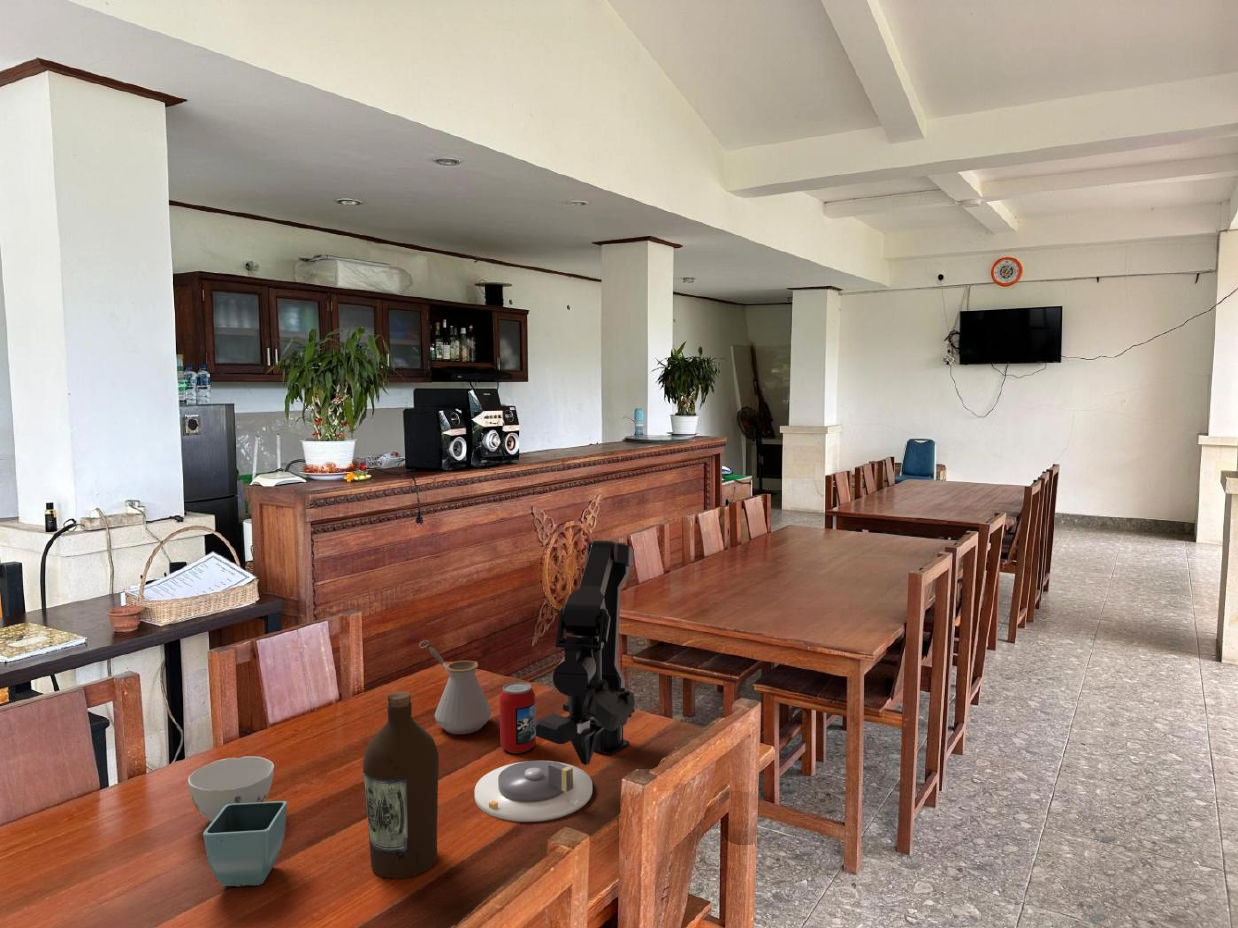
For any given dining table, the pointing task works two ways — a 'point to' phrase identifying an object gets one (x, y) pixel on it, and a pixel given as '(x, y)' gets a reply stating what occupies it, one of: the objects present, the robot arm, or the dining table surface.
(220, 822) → the flower pot
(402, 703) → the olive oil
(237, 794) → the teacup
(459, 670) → the coffee pot
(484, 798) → the plate
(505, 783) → the dial
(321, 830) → the dining table surface
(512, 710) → the beverage can
